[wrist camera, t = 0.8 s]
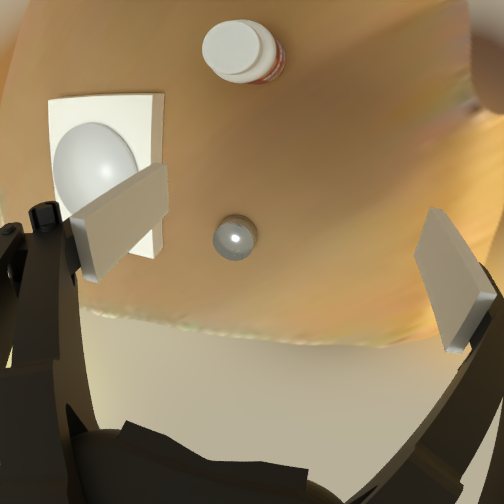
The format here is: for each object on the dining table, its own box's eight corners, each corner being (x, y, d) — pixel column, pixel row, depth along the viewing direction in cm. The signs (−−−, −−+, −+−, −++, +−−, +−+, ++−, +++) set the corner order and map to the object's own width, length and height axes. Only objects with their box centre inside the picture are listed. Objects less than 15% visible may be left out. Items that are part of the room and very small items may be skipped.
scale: (60, 97, 36) (40, 101, 33) (164, 93, 34) (147, 95, 30) (71, 229, 48) (55, 240, 44) (163, 251, 46) (149, 266, 42)
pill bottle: (279, 89, 31) (260, 90, 22) (226, 79, 32) (186, 78, 22) (291, 38, 28) (277, 17, 19) (237, 29, 28) (200, 9, 19)
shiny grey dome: (221, 211, 40) (214, 220, 38) (259, 218, 40) (254, 228, 37) (219, 244, 43) (212, 256, 41) (255, 252, 42) (250, 264, 40)
